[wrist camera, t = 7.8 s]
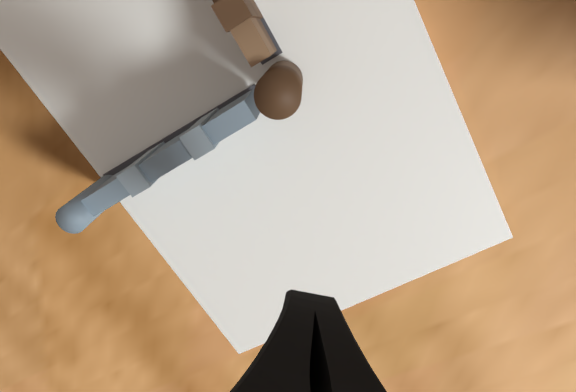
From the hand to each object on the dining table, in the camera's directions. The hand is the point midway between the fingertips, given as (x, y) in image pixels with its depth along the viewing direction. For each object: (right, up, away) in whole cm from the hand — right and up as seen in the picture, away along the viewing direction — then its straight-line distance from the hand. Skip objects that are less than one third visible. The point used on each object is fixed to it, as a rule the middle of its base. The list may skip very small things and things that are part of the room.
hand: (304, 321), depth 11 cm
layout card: (-2, +7, +7) cm, 10 cm away
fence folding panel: (-5, +6, +7) cm, 11 cm away
